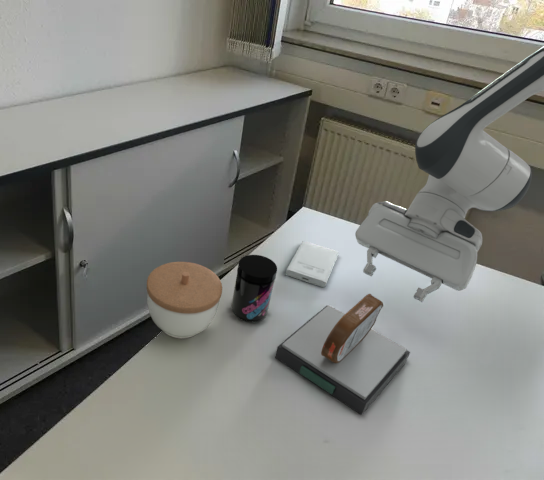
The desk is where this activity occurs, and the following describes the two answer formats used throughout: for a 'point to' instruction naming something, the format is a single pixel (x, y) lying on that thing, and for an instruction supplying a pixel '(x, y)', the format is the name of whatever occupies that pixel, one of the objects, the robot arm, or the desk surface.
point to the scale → (343, 361)
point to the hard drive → (312, 263)
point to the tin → (351, 329)
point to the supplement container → (253, 287)
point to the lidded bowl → (183, 298)
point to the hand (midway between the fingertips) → (391, 286)
